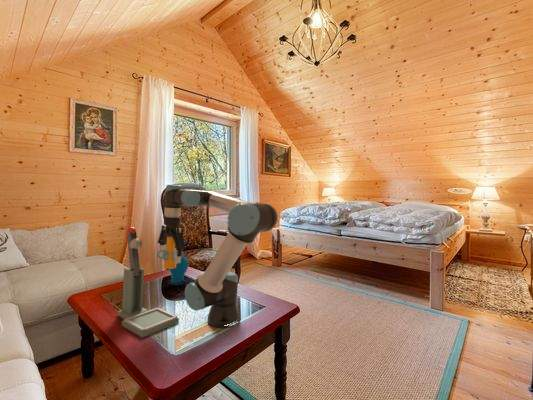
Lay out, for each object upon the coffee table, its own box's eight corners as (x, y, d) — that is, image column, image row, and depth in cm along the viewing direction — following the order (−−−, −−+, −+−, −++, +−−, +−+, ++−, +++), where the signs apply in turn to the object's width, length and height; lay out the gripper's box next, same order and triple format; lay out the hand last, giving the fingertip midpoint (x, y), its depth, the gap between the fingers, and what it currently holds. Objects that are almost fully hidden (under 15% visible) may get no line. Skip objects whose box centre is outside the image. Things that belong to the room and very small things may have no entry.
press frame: (178, 322, 129) (181, 275, 128) (142, 337, 114) (144, 284, 113) (145, 306, 144) (147, 264, 144) (109, 318, 129) (111, 271, 129)
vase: (163, 283, 181) (165, 240, 181) (178, 279, 192) (180, 238, 192) (176, 287, 175) (178, 243, 175) (191, 282, 186) (193, 240, 185)
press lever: (140, 225, 136) (133, 227, 140) (130, 226, 132) (123, 228, 135) (145, 275, 133) (138, 276, 136) (135, 277, 129) (128, 278, 132)
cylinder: (171, 272, 129) (173, 239, 129) (152, 269, 132) (154, 237, 131) (186, 265, 141) (187, 236, 141) (168, 263, 144) (169, 234, 143)
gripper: (194, 218, 131) (191, 264, 132) (165, 214, 146) (163, 255, 147) (180, 219, 125) (178, 266, 126) (151, 214, 140) (149, 257, 141)
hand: (170, 260), depth 136 cm, fingers closed on cylinder, 12 cm apart
